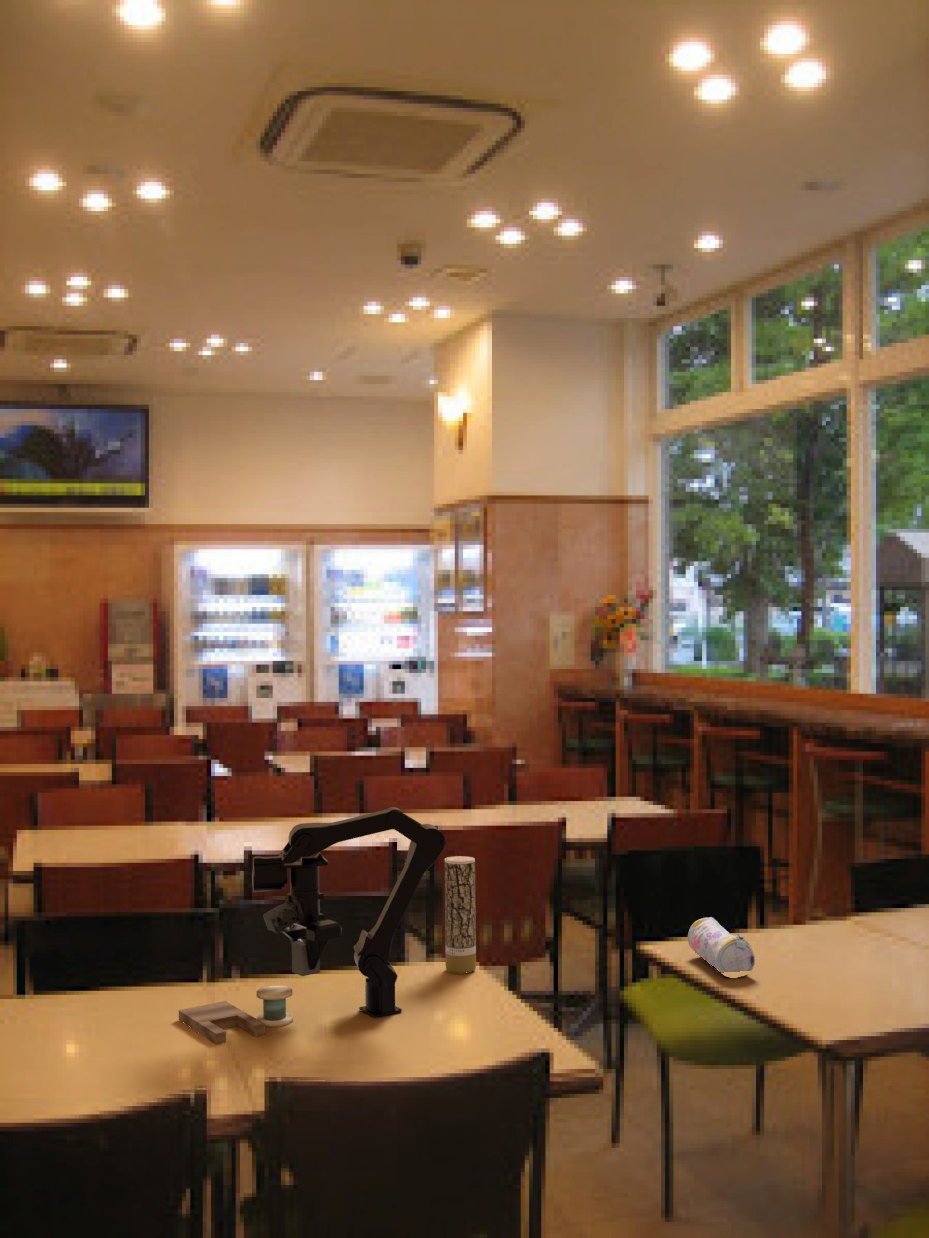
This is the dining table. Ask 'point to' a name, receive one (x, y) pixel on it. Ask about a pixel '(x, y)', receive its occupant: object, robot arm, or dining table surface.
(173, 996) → the dining table surface
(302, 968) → the tab block
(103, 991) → the dining table surface
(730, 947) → the pencil case
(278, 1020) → the bobbin
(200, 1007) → the notch board
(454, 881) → the paper tube
